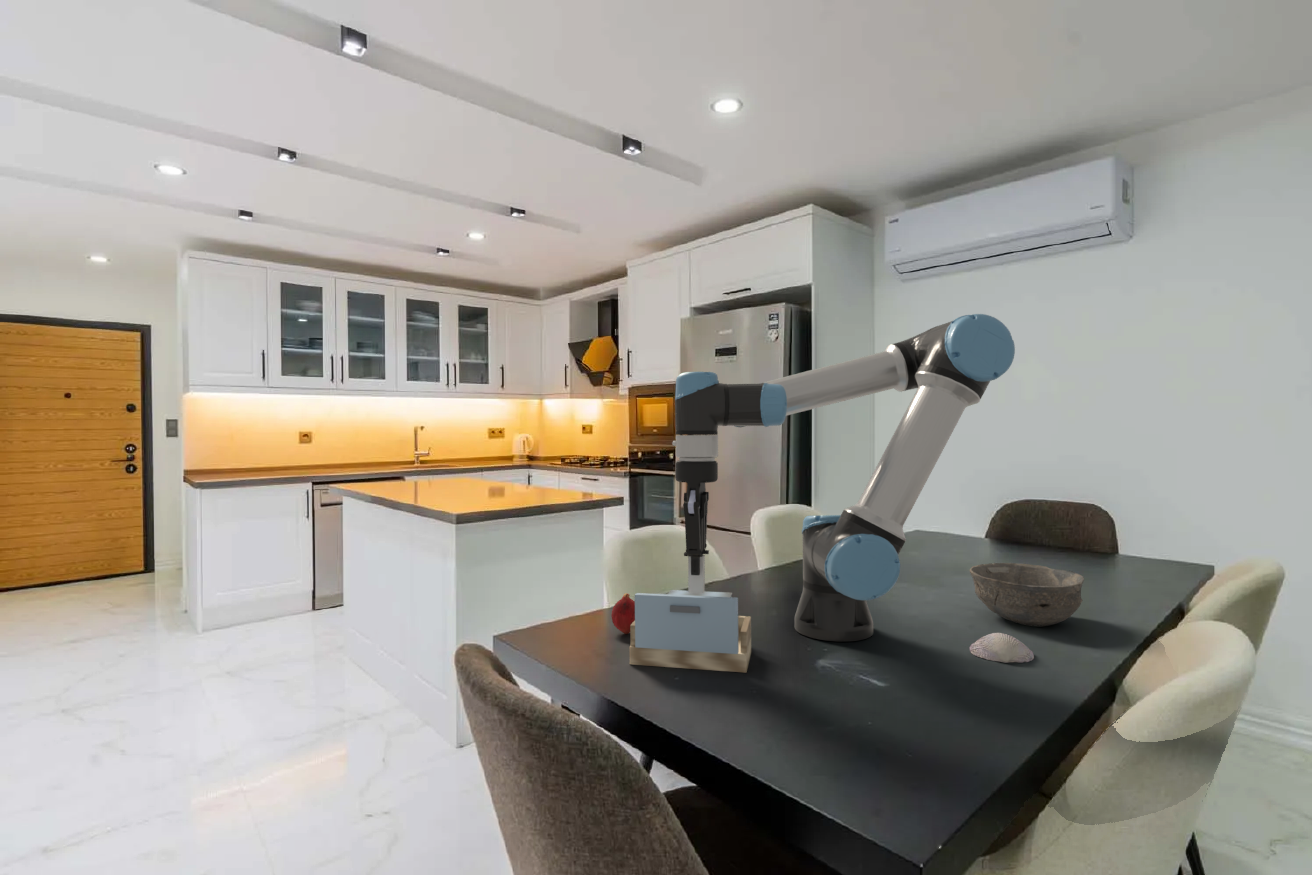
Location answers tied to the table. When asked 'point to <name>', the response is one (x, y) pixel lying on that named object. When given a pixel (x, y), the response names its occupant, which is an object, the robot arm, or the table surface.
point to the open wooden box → (694, 657)
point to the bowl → (1028, 592)
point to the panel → (686, 623)
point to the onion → (623, 614)
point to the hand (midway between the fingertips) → (696, 591)
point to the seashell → (1001, 649)
